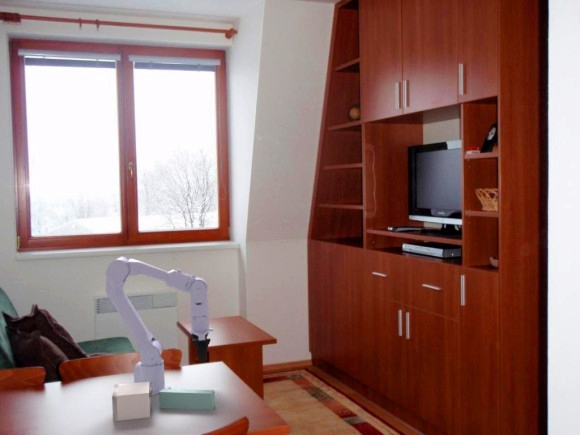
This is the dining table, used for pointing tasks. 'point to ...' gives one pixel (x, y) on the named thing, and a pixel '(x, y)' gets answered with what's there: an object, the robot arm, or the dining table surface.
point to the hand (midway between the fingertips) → (201, 357)
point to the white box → (132, 401)
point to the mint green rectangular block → (187, 399)
